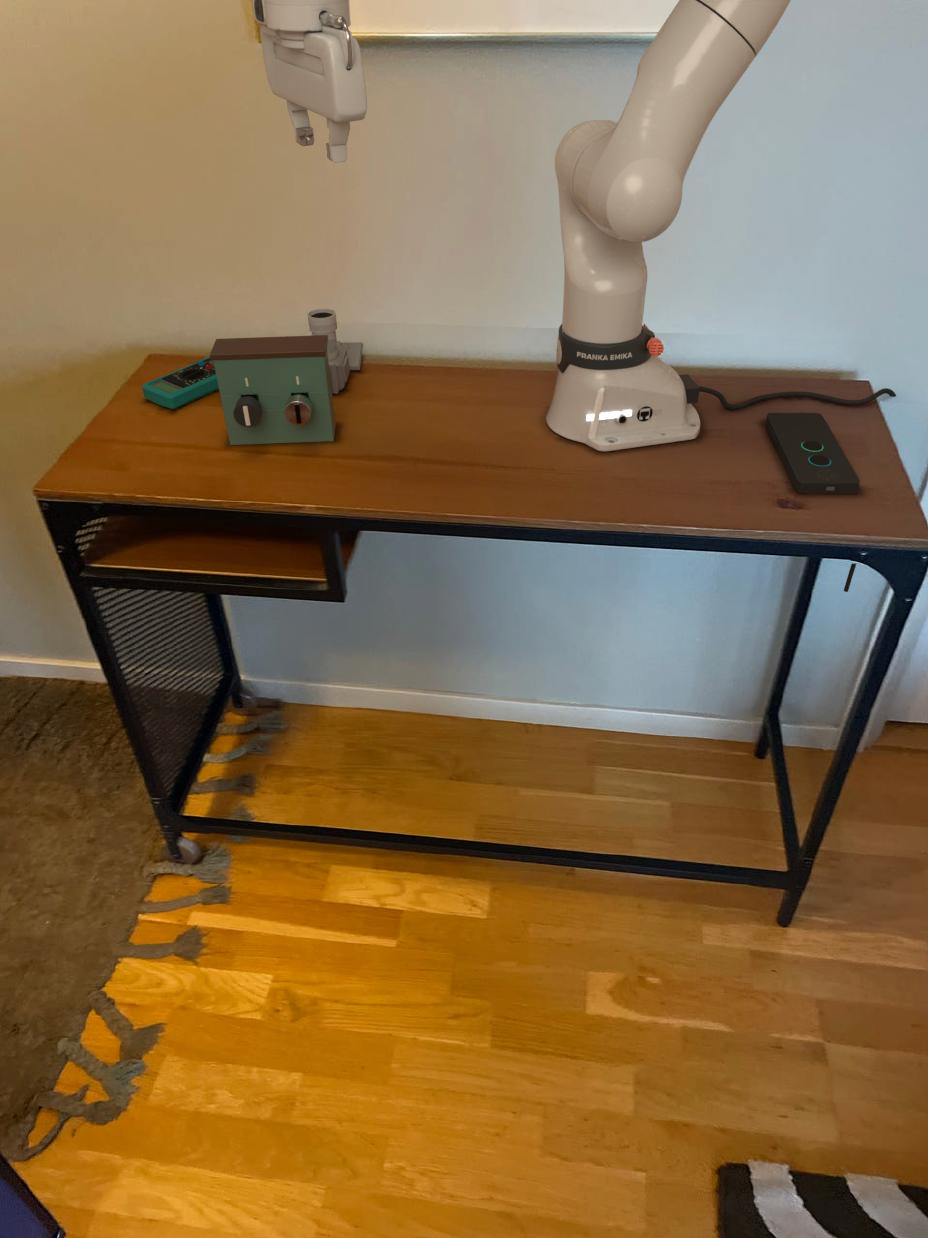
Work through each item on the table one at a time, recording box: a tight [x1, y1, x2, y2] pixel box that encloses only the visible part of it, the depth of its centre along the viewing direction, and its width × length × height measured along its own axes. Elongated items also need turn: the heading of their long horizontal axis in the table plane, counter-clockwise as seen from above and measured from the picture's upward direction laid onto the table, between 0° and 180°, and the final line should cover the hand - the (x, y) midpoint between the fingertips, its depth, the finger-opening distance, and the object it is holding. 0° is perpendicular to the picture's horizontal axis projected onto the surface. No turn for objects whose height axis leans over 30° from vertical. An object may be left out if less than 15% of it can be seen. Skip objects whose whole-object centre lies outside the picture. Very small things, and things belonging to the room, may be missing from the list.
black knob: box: [233, 395, 262, 427], centre depth 127 cm, size 6×4×4 cm, turn 3°
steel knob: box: [285, 393, 312, 425], centre depth 127 cm, size 6×4×4 cm, turn 3°
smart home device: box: [764, 412, 861, 495], centre depth 126 cm, size 8×2×20 cm
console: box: [209, 335, 337, 446], centre depth 130 cm, size 6×16×14 cm, turn 93°
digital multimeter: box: [141, 355, 219, 411], centre depth 145 cm, size 7×15×3 cm, turn 142°
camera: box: [307, 308, 364, 395], centre depth 146 cm, size 9×12×15 cm
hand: (320, 152), depth 104 cm, fingers open, 8 cm apart
